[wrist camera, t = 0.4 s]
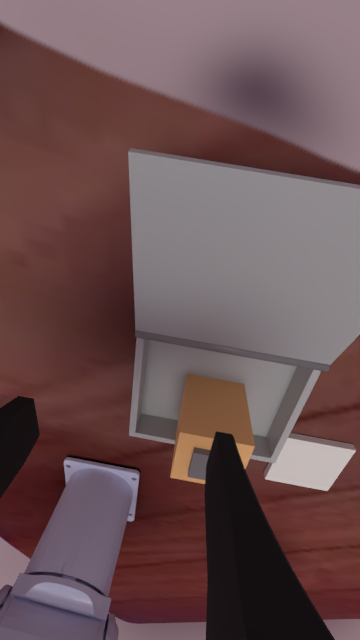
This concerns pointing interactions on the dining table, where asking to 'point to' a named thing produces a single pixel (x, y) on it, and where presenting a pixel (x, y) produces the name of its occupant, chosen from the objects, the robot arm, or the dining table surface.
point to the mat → (309, 462)
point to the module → (209, 424)
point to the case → (238, 287)
